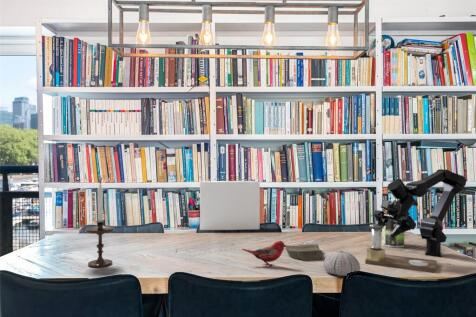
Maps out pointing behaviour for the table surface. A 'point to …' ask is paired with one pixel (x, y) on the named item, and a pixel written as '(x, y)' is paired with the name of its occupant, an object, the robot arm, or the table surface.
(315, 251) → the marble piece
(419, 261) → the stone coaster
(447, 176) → the robot arm
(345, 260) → the sea urchin shell
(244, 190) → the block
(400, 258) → the walnut board
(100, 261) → the candlestick
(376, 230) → the silver flared column
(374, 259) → the brass collar
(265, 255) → the decorative bird figurine
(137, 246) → the table surface
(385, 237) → the coffee can
